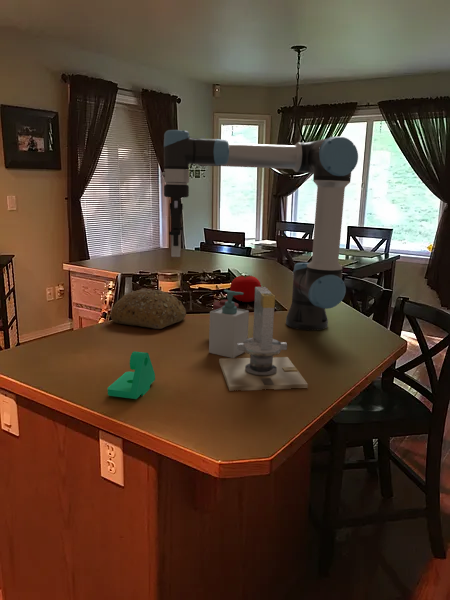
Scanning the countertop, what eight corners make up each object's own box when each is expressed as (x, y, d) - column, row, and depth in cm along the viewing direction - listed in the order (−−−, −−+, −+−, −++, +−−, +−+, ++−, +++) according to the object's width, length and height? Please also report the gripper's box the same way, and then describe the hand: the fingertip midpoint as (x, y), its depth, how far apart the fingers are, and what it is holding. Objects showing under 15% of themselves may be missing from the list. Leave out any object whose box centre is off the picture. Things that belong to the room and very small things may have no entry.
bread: (104, 324, 178) (103, 291, 175) (136, 311, 197) (136, 281, 195) (164, 334, 169) (164, 299, 166) (192, 319, 189) (192, 287, 186)
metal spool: (272, 364, 140) (273, 345, 139) (279, 375, 132) (280, 356, 130) (242, 365, 139) (243, 346, 137) (248, 376, 131) (249, 356, 129)
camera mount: (127, 380, 130) (126, 342, 127) (155, 383, 128) (154, 345, 126) (106, 399, 118) (105, 358, 116) (136, 403, 117) (136, 361, 114)
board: (287, 360, 146) (287, 356, 146) (307, 388, 127) (307, 382, 127) (219, 362, 144) (219, 357, 143) (229, 390, 124) (229, 385, 124)
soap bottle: (233, 358, 147) (235, 295, 143) (208, 352, 152) (209, 291, 147) (248, 351, 154) (250, 290, 150) (223, 345, 159) (225, 286, 154)
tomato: (261, 305, 213) (263, 277, 210) (229, 304, 213) (230, 276, 210) (260, 298, 225) (261, 272, 222) (229, 297, 225) (230, 271, 222)
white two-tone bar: (280, 343, 140) (284, 286, 136) (291, 356, 129) (295, 296, 126) (234, 343, 138) (236, 286, 135) (240, 357, 128) (243, 296, 124)
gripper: (165, 183, 164) (165, 248, 169) (162, 183, 140) (162, 259, 145) (188, 183, 165) (188, 248, 170) (189, 184, 141) (188, 259, 146)
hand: (176, 253), depth 157 cm, fingers open, 13 cm apart
